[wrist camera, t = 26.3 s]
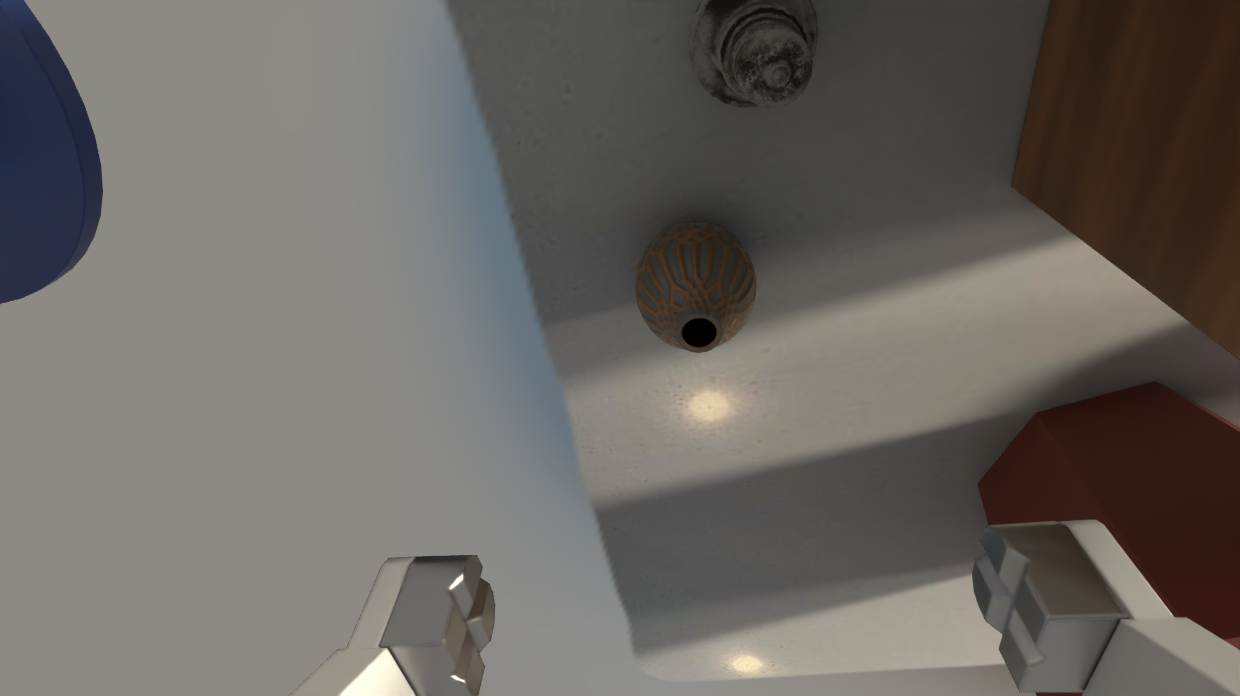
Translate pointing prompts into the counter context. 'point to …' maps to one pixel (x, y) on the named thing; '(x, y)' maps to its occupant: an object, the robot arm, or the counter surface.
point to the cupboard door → (1144, 146)
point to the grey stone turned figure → (754, 50)
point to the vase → (695, 286)
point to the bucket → (1137, 492)
